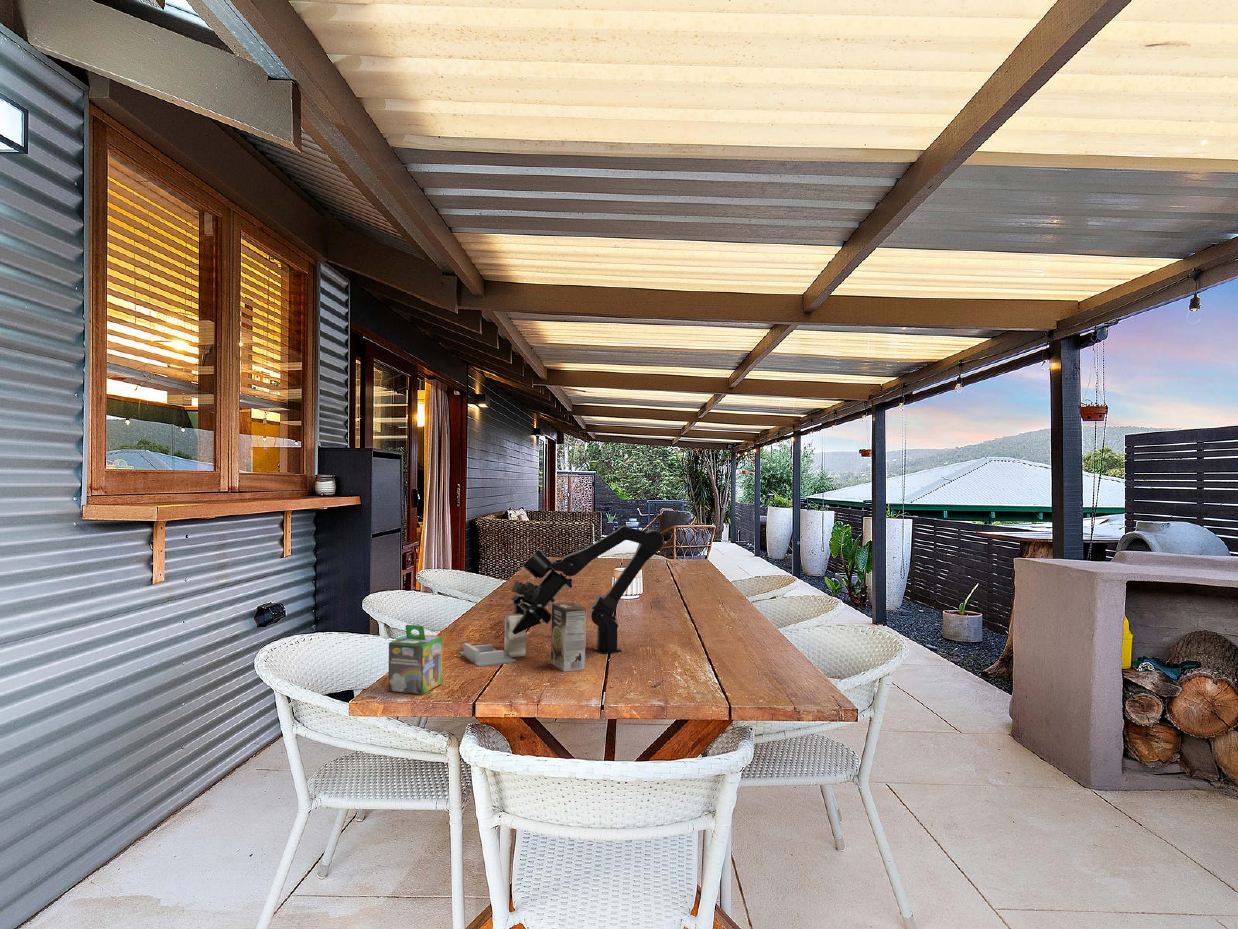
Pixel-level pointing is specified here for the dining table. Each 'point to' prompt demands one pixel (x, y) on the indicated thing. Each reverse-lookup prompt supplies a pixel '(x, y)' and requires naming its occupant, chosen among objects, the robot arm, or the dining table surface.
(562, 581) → the robot arm
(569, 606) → the coffee box
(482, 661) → the keeper bracket
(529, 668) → the dining table surface
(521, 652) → the link block
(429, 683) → the chalk box
